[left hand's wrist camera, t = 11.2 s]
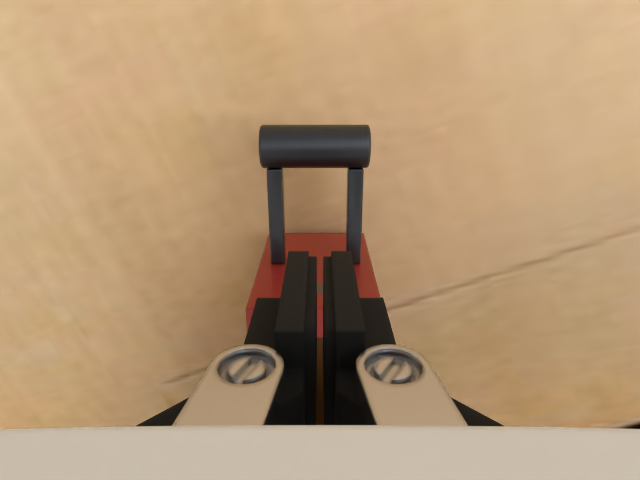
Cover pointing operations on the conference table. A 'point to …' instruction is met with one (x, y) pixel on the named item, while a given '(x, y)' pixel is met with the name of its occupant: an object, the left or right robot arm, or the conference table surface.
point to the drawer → (313, 152)
